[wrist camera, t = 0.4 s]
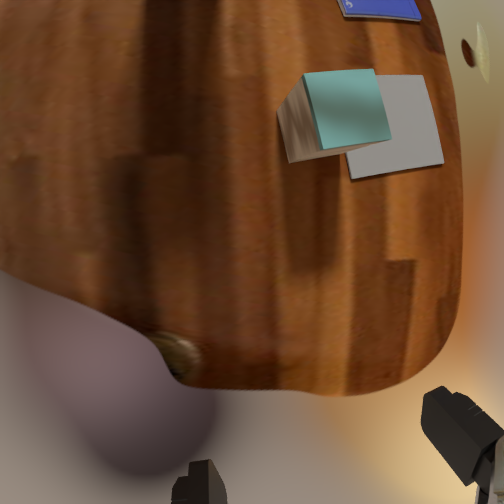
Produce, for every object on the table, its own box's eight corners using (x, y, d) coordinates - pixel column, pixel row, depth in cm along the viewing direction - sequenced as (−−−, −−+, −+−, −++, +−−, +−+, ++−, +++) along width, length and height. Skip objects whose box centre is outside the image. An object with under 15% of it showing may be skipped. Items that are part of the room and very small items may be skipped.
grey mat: (326, 79, 33) (327, 78, 32) (420, 76, 33) (422, 75, 33) (350, 179, 35) (352, 178, 35) (442, 163, 36) (444, 163, 35)
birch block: (276, 111, 33) (303, 73, 21) (327, 103, 33) (373, 69, 22) (288, 163, 34) (323, 149, 22) (339, 154, 34) (392, 139, 23)
